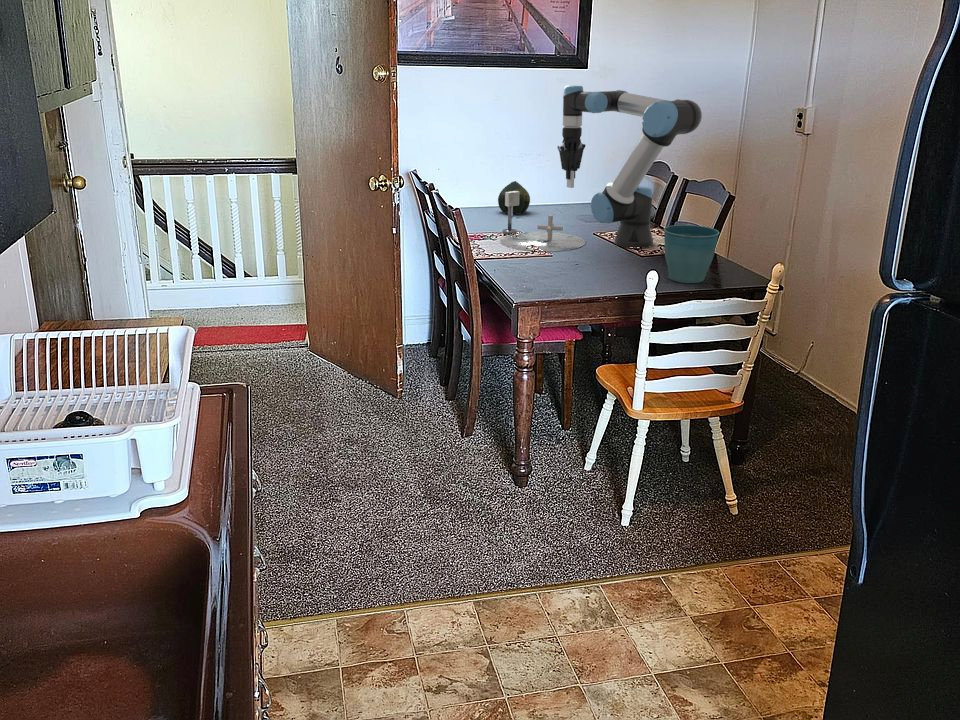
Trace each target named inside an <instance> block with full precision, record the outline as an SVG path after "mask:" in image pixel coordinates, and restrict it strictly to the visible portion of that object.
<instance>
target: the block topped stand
mask: <svg viewBox="0 0 960 720" xmlns="http://www.w3.org/2000/svg"><path fill="white" fill-rule="evenodd" d="M519 195H520V192H519V191H511V192H505V206H508V213H507V228H504V229H502V231H501V232H503V233H502V234H504V233H507V234H506V235H511V234H510V233H516V232H517V229H515V228H512V226H513V222H512V219H513V218H514V217H513V216H514V215H513V214H514V211H513V206H517V205H519ZM516 234H517V233H516Z"/></svg>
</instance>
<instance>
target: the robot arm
mask: <svg viewBox="0 0 960 720" xmlns="http://www.w3.org/2000/svg"><path fill="white" fill-rule="evenodd" d="M562 95H563V97H562V99H563V101H562V102H563V103H562V126H563V127H562V131H561V133H562V134H561V135H562V137H563V138H562V142H561V144H560V145H557V150H558V152H559V157H560V158H559V159H560V163H561V164H560V165H561V170H564V171H565V180H566V187H567V188H570V189H573V188H575V179H576V172H577V171H578V169H580V168H581V162H582V158H583V154H584V150H585V148H586V144H585V143H583V142H582V141H581V140H582V139H581V137H582V131H583V130H582V129H583V128H582V126H583V113H590V114H600V113H605V112H616V113H621V114H627V115H631V116H637V117H641V118H642V120H643V121H642V123H641V124H642V126H641V132H642V135H641V137H640V139H639V140H638V142H637V144H636V145H635V147H634V149H633V150H632V152H631V153H630V154H629V156H628V158H627V159H626V161H625V163H624V165H623V166H622V168H621V169H620V171H619V172H618V174H617V176H616V177H615V179H614V181H610V182H607V184H606V186H605V187H604V189H603V191H602V192H597V193H596V194H594V195H593V196H592V199H591V201H590V209H591V213H592V216H593V218H594V219H595V220H596V221H597V222H598V223H600V224H612V223H618V222H619V227H618V230H617V232H616V234H615V236H614V245H615V244H616V245H615V246H617V245H618V246H617V247H620V246H623V247H622V248H625V247H648V248H650V247H649V246H651V247H653V246H654V237H653V235H652V229H651V216H652V215H651V214H652V205H653V204H652V202H653V190H652V188H650V187H647V186H641V185H640V184H641V183H642V181H643V179H644V178H645V176H646V175H647V173H648V171H649V170H650V169H651V167H652V166H653V164H654V163H655V161H656V159H657V158H658V156H659V155H660V153H661V152H662V150H663V149H664V148H667V147H669V146H670V145H671V144H672V143H673V141H674V140H675V139H676V137H677V136H678V135H687V134H689V133H693V132H694V131H695V130H696V129H698V128H699V126H700V123H701V122H702V118H703V117H702V116H703V114H702V113H703V112H702V109H701V107H700V105H698V103H696V101H693V100H691V99H679V98H678V99H674V100H668V99H661V98H657V97H656V98H655V97H651V96H645V95H640V94H635V93H630V92H628V91H626V90H620V89H618V90H610V91H609V90H608V91H606V90H605V91H584V87H583V86H582V85H565V87H564V88H563V94H562ZM652 245H653V246H652Z"/></svg>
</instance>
